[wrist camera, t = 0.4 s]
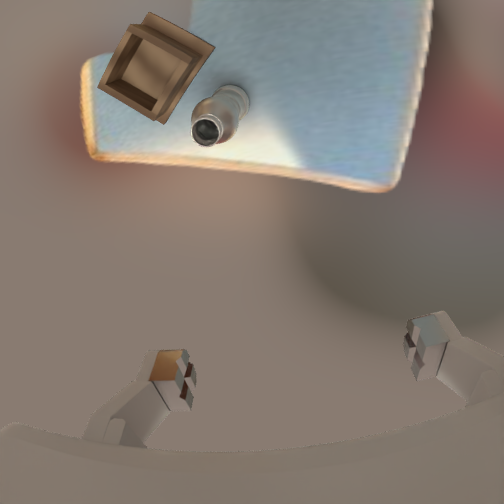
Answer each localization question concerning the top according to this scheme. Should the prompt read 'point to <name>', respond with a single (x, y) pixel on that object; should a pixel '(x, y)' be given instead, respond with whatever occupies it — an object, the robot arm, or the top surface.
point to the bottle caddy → (154, 66)
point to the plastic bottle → (219, 116)
